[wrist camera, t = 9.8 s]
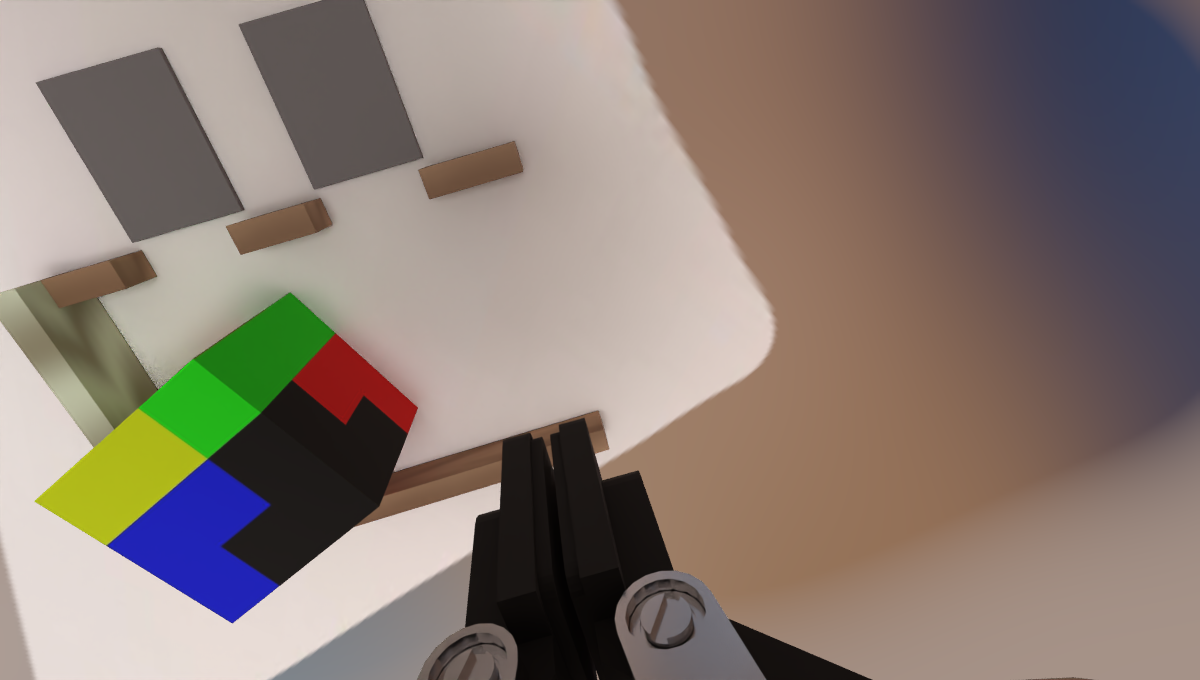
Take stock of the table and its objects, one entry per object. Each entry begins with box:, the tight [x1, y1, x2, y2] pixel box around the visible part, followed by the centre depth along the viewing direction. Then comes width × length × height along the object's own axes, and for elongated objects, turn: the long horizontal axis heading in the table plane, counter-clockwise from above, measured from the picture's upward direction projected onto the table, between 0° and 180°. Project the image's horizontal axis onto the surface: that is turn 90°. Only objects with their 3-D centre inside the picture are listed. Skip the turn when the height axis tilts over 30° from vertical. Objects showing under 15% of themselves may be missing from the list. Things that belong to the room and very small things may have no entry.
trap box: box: [0, 141, 609, 527], centre depth 32 cm, size 19×26×4 cm
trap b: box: [239, 0, 423, 189], centre depth 28 cm, size 8×6×1 cm
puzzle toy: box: [35, 293, 418, 623], centre depth 29 cm, size 10×10×10 cm
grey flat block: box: [36, 48, 244, 243], centre depth 28 cm, size 8×6×1 cm
